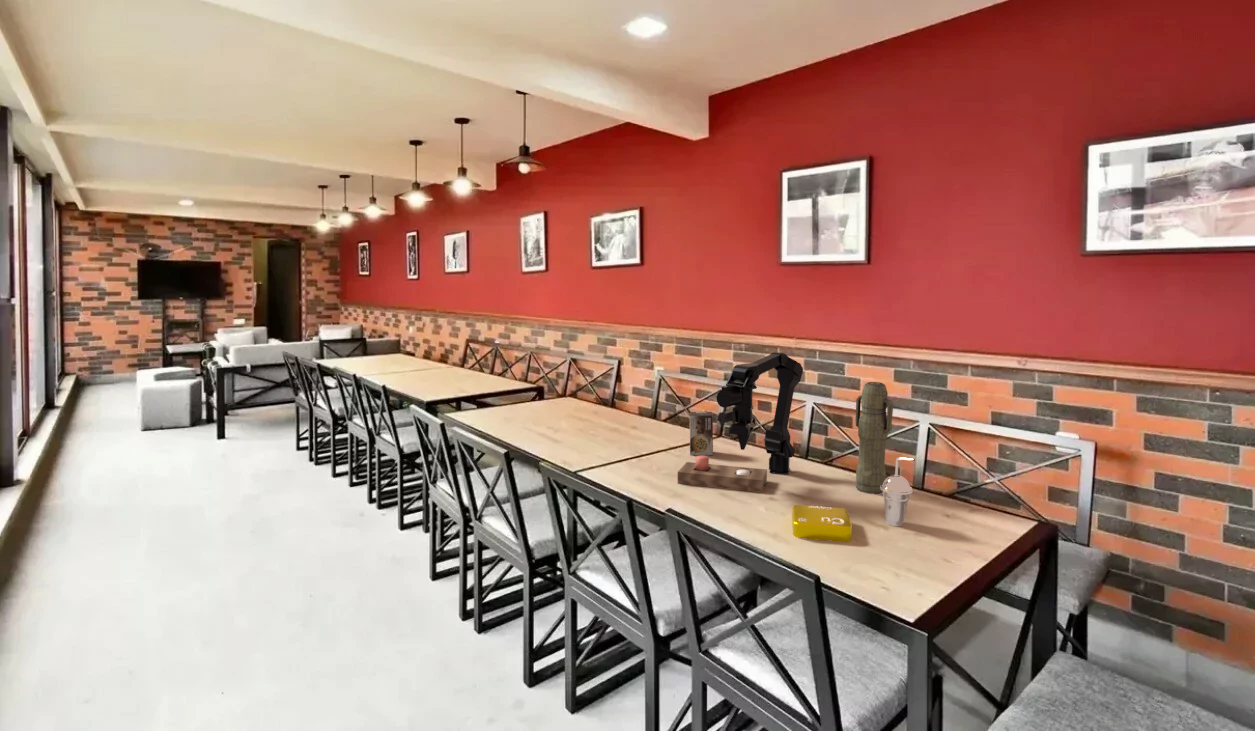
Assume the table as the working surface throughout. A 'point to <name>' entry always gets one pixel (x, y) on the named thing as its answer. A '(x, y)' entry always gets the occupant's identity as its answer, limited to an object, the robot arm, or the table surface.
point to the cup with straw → (896, 496)
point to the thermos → (872, 436)
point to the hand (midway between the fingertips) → (742, 449)
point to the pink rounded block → (702, 463)
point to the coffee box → (701, 433)
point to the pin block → (723, 477)
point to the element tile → (821, 523)
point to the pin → (743, 472)
